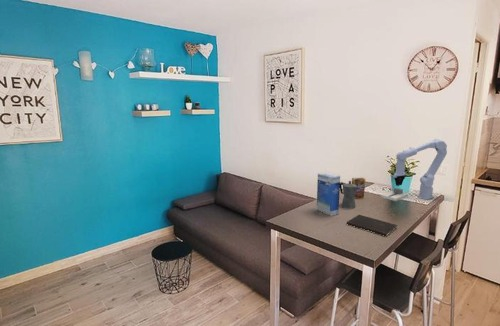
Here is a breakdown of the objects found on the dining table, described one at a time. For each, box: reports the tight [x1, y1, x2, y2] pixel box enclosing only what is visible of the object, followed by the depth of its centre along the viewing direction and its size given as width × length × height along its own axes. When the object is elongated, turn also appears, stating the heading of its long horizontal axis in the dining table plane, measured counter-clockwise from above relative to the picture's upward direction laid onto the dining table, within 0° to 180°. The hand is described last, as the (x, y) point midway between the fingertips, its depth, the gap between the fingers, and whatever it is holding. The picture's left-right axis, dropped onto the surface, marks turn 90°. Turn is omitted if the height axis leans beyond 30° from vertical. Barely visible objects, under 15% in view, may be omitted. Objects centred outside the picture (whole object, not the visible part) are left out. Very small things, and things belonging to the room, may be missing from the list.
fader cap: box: [392, 187, 404, 194], centre depth 220 cm, size 4×5×4 cm
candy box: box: [351, 177, 366, 199], centre depth 217 cm, size 9×4×15 cm, turn 98°
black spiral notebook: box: [346, 214, 399, 237], centre depth 168 cm, size 16×23×2 cm
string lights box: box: [316, 171, 341, 217], centre depth 188 cm, size 13×8×26 cm, turn 32°
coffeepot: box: [340, 180, 358, 209], centre depth 201 cm, size 15×9×18 cm, turn 33°
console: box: [380, 190, 408, 202], centre depth 218 cm, size 17×11×2 cm, turn 125°
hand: (398, 185), depth 219 cm, fingers open, 3 cm apart
